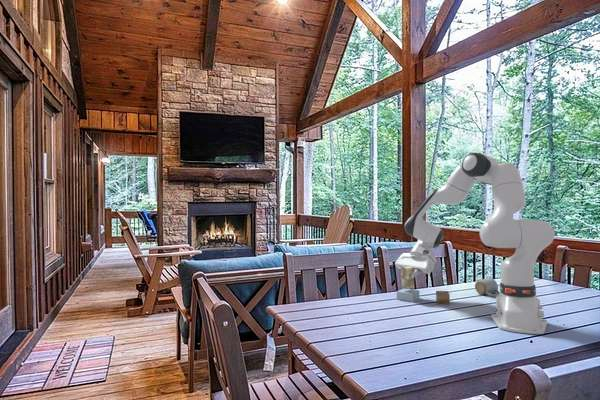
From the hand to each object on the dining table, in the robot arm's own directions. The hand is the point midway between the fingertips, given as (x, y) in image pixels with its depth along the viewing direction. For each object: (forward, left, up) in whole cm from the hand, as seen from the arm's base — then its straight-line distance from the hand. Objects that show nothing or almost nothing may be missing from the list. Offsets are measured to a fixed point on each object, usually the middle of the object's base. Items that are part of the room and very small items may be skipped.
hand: (406, 276), depth 180 cm
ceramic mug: (+22, -35, -11) cm, 43 cm away
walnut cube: (-1, -16, -11) cm, 20 cm away
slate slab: (+1, 0, -11) cm, 11 cm away
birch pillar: (+1, 0, -5) cm, 5 cm away
